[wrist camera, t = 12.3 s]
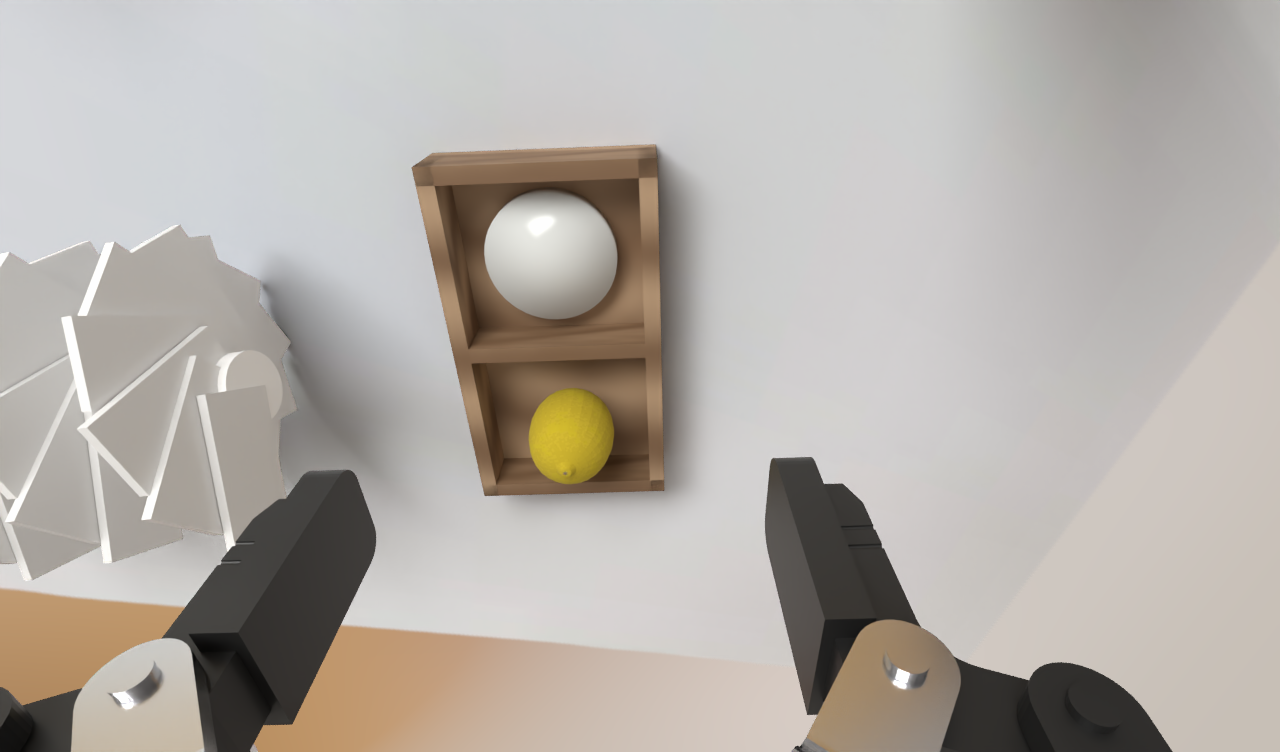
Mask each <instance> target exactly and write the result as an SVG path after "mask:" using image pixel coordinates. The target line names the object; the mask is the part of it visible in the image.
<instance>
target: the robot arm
mask: <svg viewBox="0 0 1280 752" xmlns="http://www.w3.org/2000/svg"><path fill="white" fill-rule="evenodd" d="M765 534H766V543H767V549H768V554H769V558H770V562H771V566H772V570H773V575H774V579H775V583H776V587H777V591H778V595H779V599H780V604H781V608H782V612H783V616H784V620H785V624H786V628H787V633H788V637H789V641H790V645H791V649H792V653H793V657H794V662H795V666H796V670H797V674H798V678H799V682H800V686H801V690H802V695H803V699H804V703H805V707H806V711H807V715H817V717H816V719H815V721H814V723H813V725H812V727H811V729H810V731H809V733H808V735H807V737H806V739H805V740H804V742H803V744H802V745H801V746H800V747H799V746H796V747H795V748H794V749H793V750H792V752H1172V750H1171V749H1170V747H1169V746H1168V744H1167V743H1166V741H1165V740H1164V738H1163V737H1162V735H1161V734H1160V732H1159V731H1158V729H1157V728H1156V726H1155V725H1154V723H1153V722H1152V720H1151V719H1150V717H1149V716H1148V714H1147V713H1146V712H1145V710H1144V709H1143V708H1142V706H1141V705H1140V704H1139V703H1138V702H1137V701H1136V700H1135V699H1134V697H1133V696H1131V695H1130V694H1129V693H1128V692H1127V691H1126V690H1125V689H1124V688H1122V687H1121V686H1120V685H1118V684H1117V683H1115V682H1114V681H1113V680H1111V679H1109V678H1107V677H1106V676H1104V675H1102V674H1100V673H1098V672H1096V671H1094V670H1092V669H1089V668H1086V667H1083V666H1080V665H1075V664H1071V663H1062V662H1061V663H1050V664H1046V665H1043V666H1042V667H1039V668H1038V669H1037V670H1036V671H1035V672H1034V673H1033V674H1032V676H1031V678H1030V680H1025V679H1022V678H1018V677H1014V676H1010V675H1006V674H1002V673H999V672H995V671H991V670H987V669H984V668H980V667H977V666H974V665H971V664H968V663H966V662H964V661H961V660H959V659H957V658H956V657H954V656H953V655H952V653H951V652H950V651H949V649H948V648H947V647H946V646H945V645H944V644H943V643H942V642H941V641H940V640H939V639H938V638H937V637H935V636H934V635H933V634H931V633H930V632H928V631H927V630H925V629H923V628H921V626H920V625H919V623H918V621H917V619H916V617H915V615H914V613H913V611H912V609H911V607H910V604H909V602H908V600H907V598H906V596H905V593H904V591H903V589H902V587H901V585H900V583H899V580H898V578H897V576H896V574H895V572H894V570H893V567H892V565H891V563H890V561H889V559H888V556H887V554H886V552H885V550H884V548H883V549H882V543H881V541H880V539H879V537H878V535H877V533H876V530H874V529H873V524H872V522H871V519H870V517H869V515H868V513H867V511H866V509H865V506H864V504H863V502H862V501H861V500H859V499H858V498H857V497H856V496H855V495H854V494H853V493H852V492H851V491H850V490H849V489H848V488H847V487H846V486H845V485H844V484H824V483H823V481H822V478H821V476H820V473H819V471H818V468H817V465H816V463H815V461H814V459H813V458H812V457H799V458H773V459H772V460H771V464H770V471H769V482H768V493H767V503H766V514H765ZM375 547H376V531H375V527H374V524H373V521H372V518H371V515H370V513H369V510H368V507H367V504H366V502H365V499H364V496H363V493H362V490H361V488H360V485H359V482H358V479H357V477H356V475H355V474H354V473H353V472H352V471H351V470H330V471H309V472H307V473H305V474H304V475H303V476H302V478H301V479H300V480H299V482H298V483H297V484H296V486H295V487H294V489H293V490H292V491H291V493H290V494H289V495H288V497H287V498H286V499H278V500H277V501H275V502H274V503H273V504H272V505H270V506H269V507H268V508H266V509H265V510H264V511H263V512H261V513H260V514H259V515H257V516H256V517H255V518H253V519H252V521H251V522H250V523H249V525H248V526H247V527H246V529H245V530H244V531H243V533H242V534H241V535H240V536H239V538H238V539H237V540H236V545H235V546H232V547H231V548H230V550H229V551H228V552H227V554H226V555H225V556H224V557H223V559H222V560H221V561H222V563H221V565H217V567H216V568H215V569H214V571H213V572H212V573H211V575H210V576H209V577H208V578H207V580H206V581H205V582H204V584H203V585H202V586H201V588H200V589H199V590H198V592H197V593H196V594H195V595H194V597H193V598H192V599H191V601H190V602H189V603H188V605H187V606H186V607H185V609H184V610H183V611H182V613H181V614H180V615H179V616H178V618H177V619H176V620H175V622H174V623H173V624H172V626H171V627H170V629H169V630H168V631H167V632H166V634H165V635H164V636H163V637H162V638H161V639H158V640H152V641H149V642H146V643H143V644H140V645H138V646H135V647H133V648H131V649H129V650H127V651H126V652H123V653H122V654H120V655H119V656H117V657H115V658H114V659H112V660H111V661H110V662H108V663H107V664H106V665H104V666H103V667H102V668H101V669H100V670H99V671H97V672H96V673H95V674H94V675H93V676H92V678H91V679H90V680H89V681H88V682H87V683H86V685H85V686H84V687H83V688H81V689H77V690H74V691H71V692H67V693H64V694H60V695H57V696H54V697H50V698H47V699H43V700H40V701H36V702H33V703H30V704H26V705H23V706H22V705H21V704H20V703H19V702H18V701H17V700H16V699H15V697H14V696H13V695H12V694H11V693H10V692H9V691H8V690H6V689H4V688H2V687H0V752H258V750H257V748H256V747H255V745H254V742H255V740H256V738H257V736H258V734H259V732H260V730H261V728H262V727H263V725H285V724H286V725H287V724H288V725H289V724H293V722H294V720H295V718H296V715H297V713H298V711H299V709H300V707H301V705H302V703H303V701H304V699H305V697H306V695H307V693H308V691H309V689H310V687H311V685H312V683H313V680H314V679H315V677H316V674H317V672H318V670H319V668H320V666H321V664H322V662H323V660H324V658H325V656H326V654H327V652H328V650H329V648H330V646H331V644H332V642H333V640H334V637H335V635H336V633H337V631H338V629H339V627H340V625H341V623H342V621H343V619H344V617H345V615H346V613H347V611H348V609H349V607H350V605H351V603H352V601H353V598H354V596H355V594H356V592H357V590H358V588H359V586H360V584H361V582H362V580H363V578H364V576H365V574H366V572H367V570H368V568H369V566H370V564H371V561H372V559H373V556H374V552H375Z"/></svg>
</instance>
